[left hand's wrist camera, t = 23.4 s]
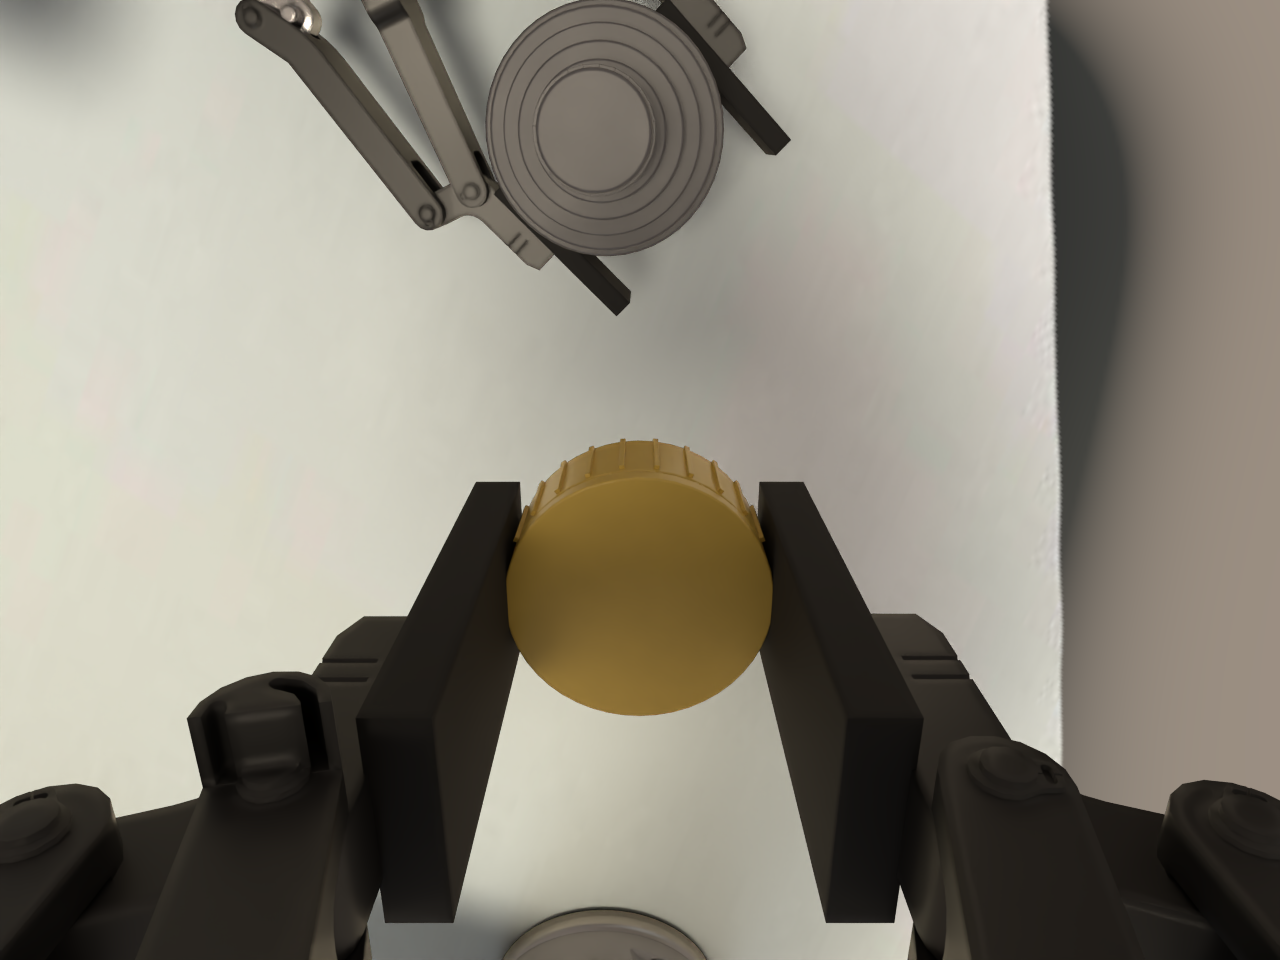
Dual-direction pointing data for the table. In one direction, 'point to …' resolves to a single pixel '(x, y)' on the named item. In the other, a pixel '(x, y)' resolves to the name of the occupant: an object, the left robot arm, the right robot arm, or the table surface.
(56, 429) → the table surface
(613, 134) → the bottle
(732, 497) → the cap
